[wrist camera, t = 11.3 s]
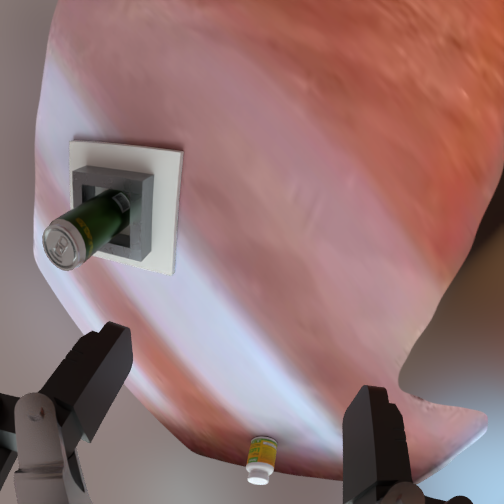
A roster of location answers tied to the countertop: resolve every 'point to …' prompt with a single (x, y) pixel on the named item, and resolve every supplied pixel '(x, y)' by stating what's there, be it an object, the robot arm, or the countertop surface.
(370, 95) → the countertop surface
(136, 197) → the can collar
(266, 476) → the supplement bottle
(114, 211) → the beer can
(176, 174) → the holder plate
